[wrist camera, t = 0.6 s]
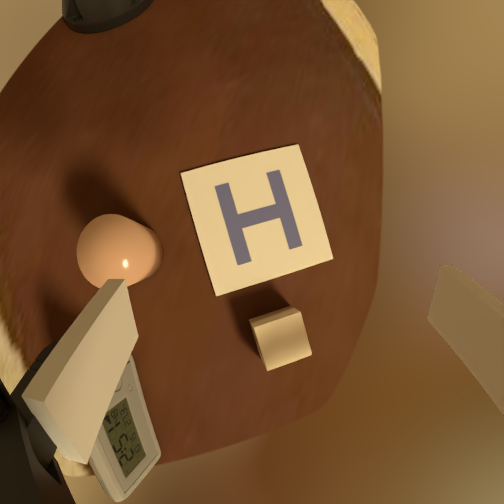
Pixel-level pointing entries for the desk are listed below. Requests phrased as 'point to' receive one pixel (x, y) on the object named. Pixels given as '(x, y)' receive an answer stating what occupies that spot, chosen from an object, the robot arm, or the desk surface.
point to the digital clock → (124, 439)
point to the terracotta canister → (118, 250)
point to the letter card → (256, 218)
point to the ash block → (280, 337)
